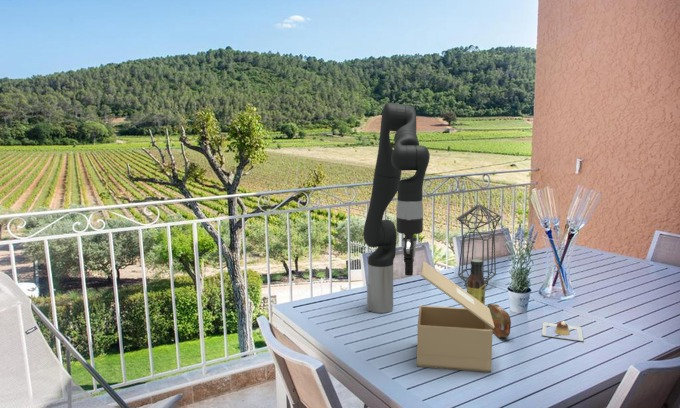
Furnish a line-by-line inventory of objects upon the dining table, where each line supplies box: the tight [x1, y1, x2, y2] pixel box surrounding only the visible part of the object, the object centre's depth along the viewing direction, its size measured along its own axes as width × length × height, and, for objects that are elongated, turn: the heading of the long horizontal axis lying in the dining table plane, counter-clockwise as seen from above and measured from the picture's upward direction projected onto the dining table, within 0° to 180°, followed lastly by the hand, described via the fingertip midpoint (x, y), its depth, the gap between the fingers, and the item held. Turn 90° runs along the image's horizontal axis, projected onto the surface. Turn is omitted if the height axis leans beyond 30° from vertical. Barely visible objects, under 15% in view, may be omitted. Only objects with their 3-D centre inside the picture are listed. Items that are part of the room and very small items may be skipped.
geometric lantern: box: [455, 203, 502, 288], centre depth 212 cm, size 16×16×35 cm
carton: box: [416, 305, 494, 373], centre depth 147 cm, size 20×17×12 cm
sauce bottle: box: [466, 258, 486, 306], centre depth 180 cm, size 7×6×20 cm
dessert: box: [541, 320, 584, 342], centre depth 164 cm, size 12×12×5 cm
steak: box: [486, 303, 512, 338], centre depth 165 cm, size 15×3×8 cm, turn 5°
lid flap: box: [420, 260, 495, 329], centre depth 145 cm, size 24×15×1 cm
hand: (408, 274), depth 146 cm, fingers closed
